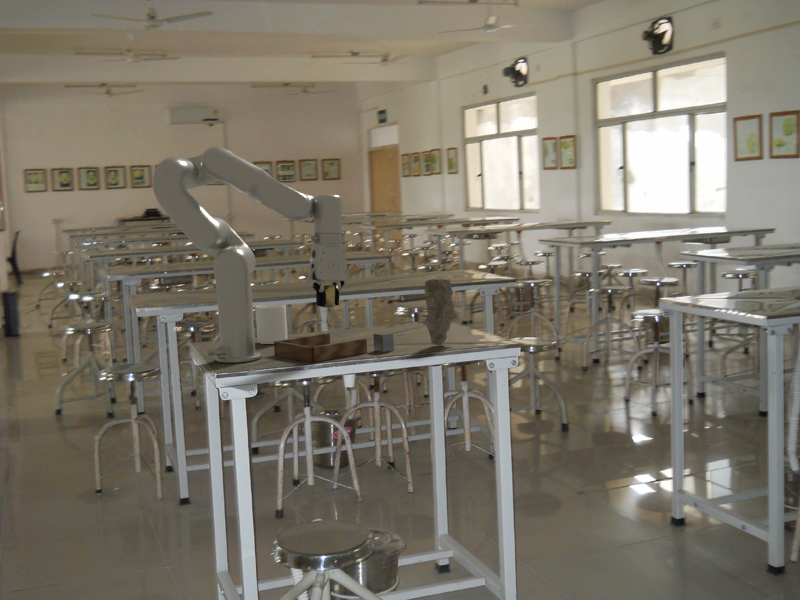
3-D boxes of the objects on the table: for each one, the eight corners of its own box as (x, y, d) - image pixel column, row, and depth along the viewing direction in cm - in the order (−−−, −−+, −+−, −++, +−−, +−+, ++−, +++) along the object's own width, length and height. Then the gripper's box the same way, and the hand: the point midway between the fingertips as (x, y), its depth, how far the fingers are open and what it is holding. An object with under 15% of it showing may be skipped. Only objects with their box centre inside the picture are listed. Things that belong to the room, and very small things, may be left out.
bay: (312, 362, 219) (311, 347, 218) (274, 355, 233) (274, 341, 232) (367, 352, 231) (366, 338, 231) (328, 346, 245) (327, 332, 245)
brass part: (326, 307, 224) (326, 286, 223) (317, 306, 227) (317, 285, 226) (338, 306, 226) (338, 285, 226) (329, 305, 229) (329, 284, 229)
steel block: (383, 352, 231) (382, 335, 230) (374, 351, 234) (373, 333, 233) (393, 350, 233) (393, 333, 233) (384, 349, 236) (384, 332, 236)
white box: (259, 346, 251) (257, 308, 249) (254, 340, 262) (252, 304, 261) (290, 343, 254) (288, 306, 252) (283, 338, 265) (281, 302, 264)
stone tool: (427, 348, 233) (425, 279, 231) (418, 346, 238) (415, 278, 236) (463, 344, 239) (461, 276, 237) (453, 341, 244) (451, 275, 242)
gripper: (310, 240, 216) (310, 308, 218) (360, 239, 227) (359, 304, 229) (294, 239, 222) (295, 306, 224) (344, 238, 233) (343, 302, 235)
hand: (327, 304), depth 227 cm, fingers closed on brass part, 4 cm apart
